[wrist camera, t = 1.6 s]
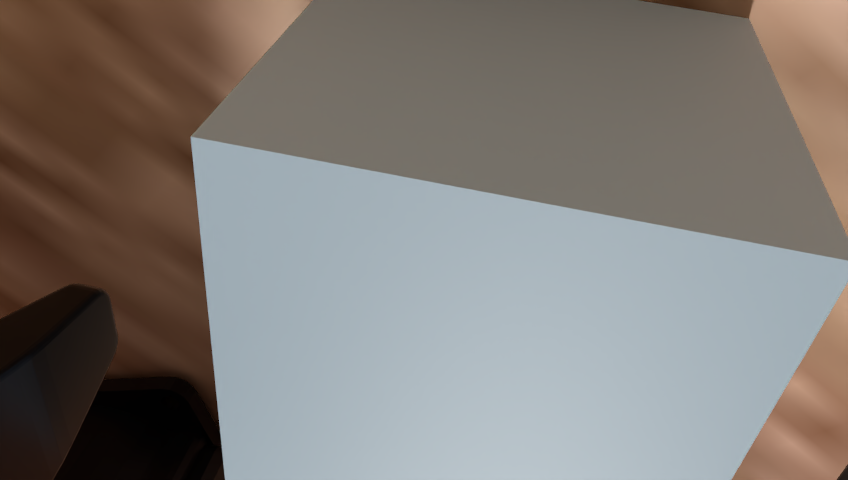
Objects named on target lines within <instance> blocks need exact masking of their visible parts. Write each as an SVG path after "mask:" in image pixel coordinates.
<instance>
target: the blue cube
mask: <svg viewBox="0 0 848 480" xmlns="http://www.w3.org/2000/svg"><path fill="white" fill-rule="evenodd" d="M191 146H192V156H193V166H194V176H195V186H196V196H197V206H198V216H199V226H200V236H201V246H202V256H203V266H204V276H205V286H206V296H207V306H208V316H209V325H210V335H211V345H212V355H213V365H214V375H215V385H216V395H217V405H218V415H219V425H220V435H221V445H222V455H223V465H224V475H225V480H731V479H732V478H733V476H734V474H735V472H736V471H737V469H738V467H739V466H740V464H741V462H742V461H743V459H744V457H745V456H746V454H747V452H748V450H749V449H750V447H751V445H752V444H753V442H754V440H755V439H756V437H757V435H758V433H759V432H760V430H761V428H762V427H763V425H764V423H765V422H766V420H767V418H768V417H769V415H770V413H771V411H772V410H773V408H774V406H775V405H776V403H777V401H778V400H779V398H780V396H781V394H782V393H783V391H784V389H785V388H786V386H787V384H788V383H789V381H790V379H791V377H792V376H793V374H794V372H795V371H796V369H797V367H798V366H799V364H800V362H801V361H802V359H803V357H804V355H805V354H806V352H807V350H808V349H809V347H810V345H811V344H812V342H813V340H814V338H815V337H816V335H817V333H818V332H819V330H820V328H821V327H822V325H823V323H824V321H825V320H826V318H827V316H828V315H829V313H830V311H831V310H832V308H833V306H834V305H835V303H836V301H837V299H838V298H839V296H840V294H841V293H842V291H843V289H844V288H845V286H846V284H847V282H848V237H847V235H846V233H845V230H844V228H843V226H842V224H841V221H840V219H839V217H838V215H837V213H836V210H835V208H834V206H833V204H832V201H831V199H830V197H829V195H828V193H827V190H826V188H825V186H824V184H823V182H822V179H821V177H820V175H819V173H818V170H817V168H816V166H815V164H814V162H813V159H812V157H811V155H810V153H809V151H808V148H807V146H806V144H805V142H804V139H803V137H802V135H801V133H800V131H799V128H798V126H797V124H796V122H795V119H794V117H793V115H792V113H791V111H790V108H789V106H788V104H787V102H786V100H785V97H784V95H783V93H782V91H781V88H780V86H779V84H778V82H777V80H776V77H775V75H774V73H773V71H772V69H771V66H770V64H769V62H768V60H767V57H766V55H765V53H764V51H763V49H762V46H761V44H760V42H759V40H758V37H757V35H756V33H755V31H754V29H753V26H752V24H751V22H750V20H749V18H743V17H737V16H731V15H725V14H718V13H712V12H706V11H700V10H694V9H688V8H682V7H676V6H670V5H664V4H657V3H651V2H645V1H639V0H313V1H312V2H311V3H310V4H309V5H308V7H307V8H306V9H305V10H304V11H303V12H302V13H301V14H300V15H299V17H298V18H297V19H296V20H295V21H294V22H293V23H292V24H291V25H290V27H289V28H288V29H287V30H286V31H285V32H284V33H283V34H282V35H281V37H280V38H279V39H278V40H277V41H276V42H275V43H274V44H273V45H272V47H271V48H270V49H269V50H268V51H267V52H266V53H265V54H264V55H263V57H262V58H261V59H260V60H259V61H258V62H257V63H256V64H255V65H254V67H253V68H252V69H251V70H250V71H249V72H248V73H247V74H246V75H245V77H244V78H243V79H242V80H241V81H240V82H239V83H238V84H237V85H236V87H235V88H234V89H233V90H232V91H231V92H230V93H229V94H228V95H227V97H226V98H225V99H224V100H223V101H222V102H221V103H220V104H219V105H218V107H217V108H216V109H215V110H214V111H213V112H212V113H211V114H210V115H209V117H208V118H207V119H206V120H205V121H204V122H203V123H202V124H201V125H200V127H199V128H198V129H197V130H196V131H195V132H194V133H193V134H192V136H191Z"/></svg>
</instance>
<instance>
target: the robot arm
mask: <svg viewBox="0 0 848 480" xmlns="http://www.w3.org/2000/svg"><path fill="white" fill-rule="evenodd" d="M117 344H118V334H117V329H116V324H115V319H114V314H113V310H112V305H111V300H110V296H109V294H108V293H107V292H106V291H105V290H104V289H102V288H97V287H92V286H88V285H83V284H70V285H68V286H65V287H63V288H61V289H59V290H57V291H55V292H53V293H51V294H49V295H47V296H45V297H43V298H41V299H39V300H37V301H35V302H33V303H31V304H29V305H27V306H25V307H23V308H21V309H19V310H17V311H15V312H13V313H11V314H9V315H7V316H5V317H3V318H1V319H0V480H225V475H224V465H223V455H222V445H221V435H220V431H219V430H218V428H217V426H216V425H215V423H214V421H213V419H212V418H211V416H210V414H209V413H208V411H207V409H206V407H205V406H204V404H203V402H202V400H201V399H200V397H199V395H198V394H197V392H196V390H195V389H194V388H193V387H192V385H190V384H189V383H187V382H186V381H185V380H182V379H179V378H176V377H153V378H130V379H107V380H103V379H104V376H105V374H106V372H107V370H108V368H109V366H110V364H111V362H112V360H113V357H114V355H115V352H116V349H117ZM837 480H848V465H847V466H846V468H845V469H844V470H843V472H842V473H841V474H840V476H839V477H838V479H837Z"/></svg>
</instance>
